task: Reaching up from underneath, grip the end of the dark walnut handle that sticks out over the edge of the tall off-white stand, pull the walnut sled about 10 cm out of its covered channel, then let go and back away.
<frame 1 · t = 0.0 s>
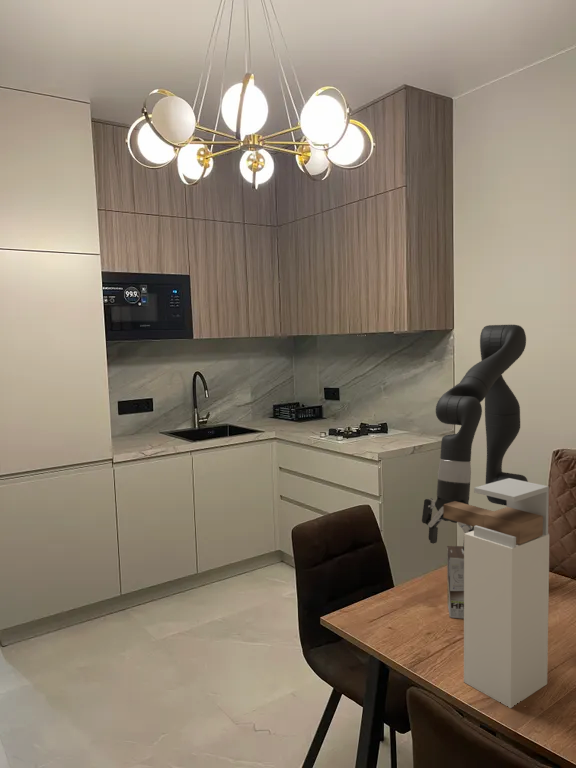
hand: (449, 546, 139), 22 cm above the table, tool pointing down, fingers open, 8 cm apart
stand: (482, 671, 127), on the table
sled: (487, 517, 123), point 34 cm above the table, slide at 0.0 cm
coffee box: (460, 611, 154), on the table
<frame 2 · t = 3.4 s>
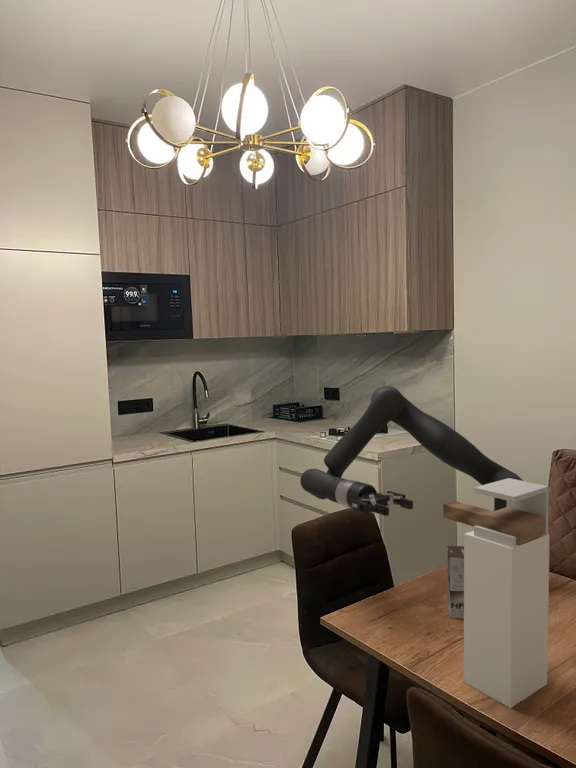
hand: (400, 508, 145), 30 cm above the table, tool horizontal, fingers open, 8 cm apart
nothing on the table moved.
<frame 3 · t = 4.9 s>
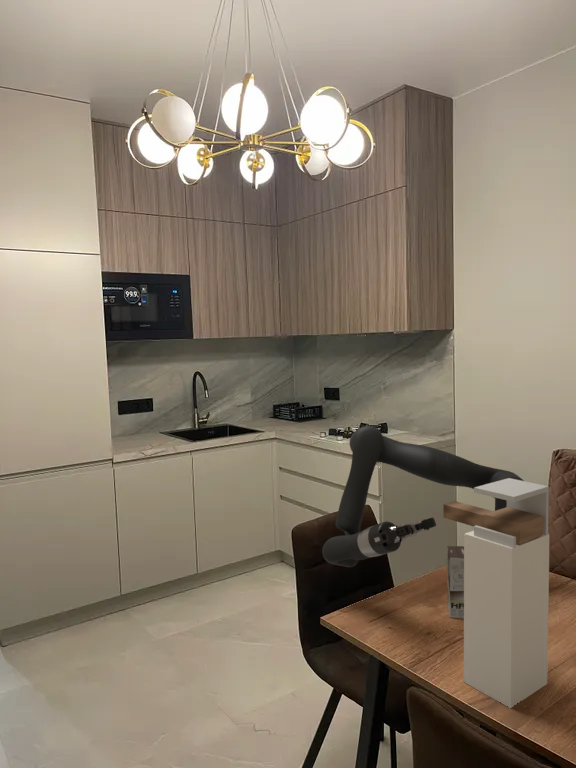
hand: (422, 525, 138), 28 cm above the table, tool pointing upward, fingers open, 8 cm apart
nothing on the table moved.
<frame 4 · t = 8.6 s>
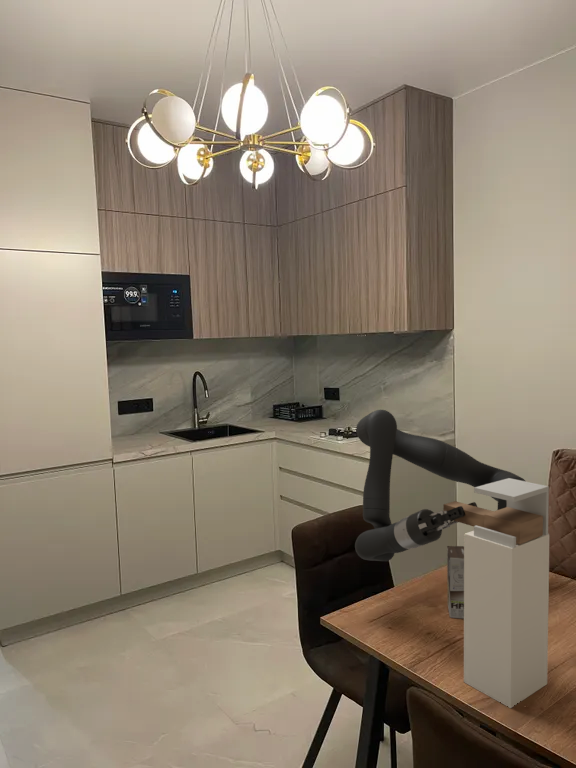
hand: (469, 508, 127), 35 cm above the table, tool pointing upward, fingers closed on sled, 4 cm apart
sled: (487, 517, 123), point 34 cm above the table, slide at 0.0 cm, touching gripper
everything else where it was.
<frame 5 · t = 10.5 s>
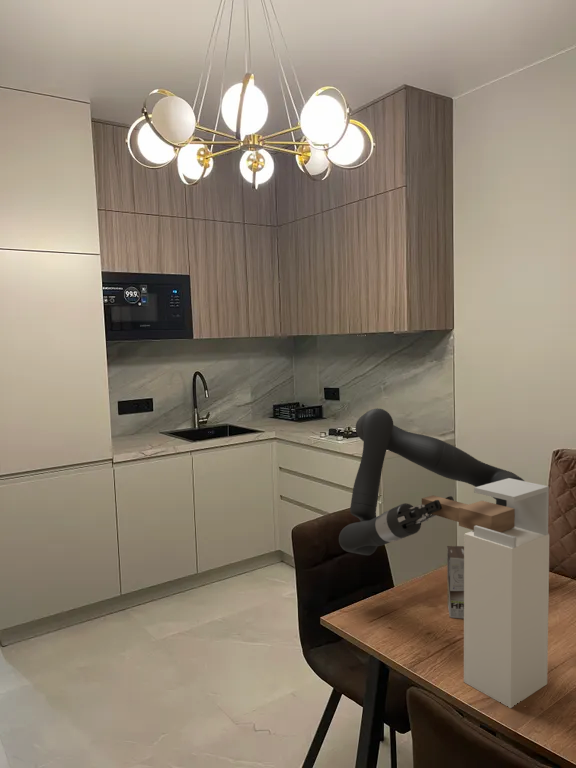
hand: (446, 502, 132), 35 cm above the table, tool pointing upward, fingers closed on sled, 4 cm apart
sled: (462, 510, 128), point 34 cm above the table, slide at 6.3 cm, touching gripper
everything else where it was.
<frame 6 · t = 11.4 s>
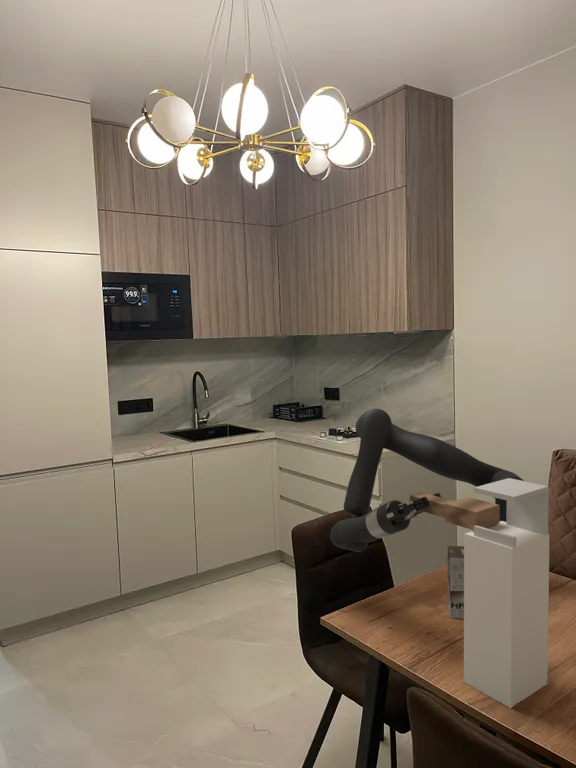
hand: (433, 499, 135), 35 cm above the table, tool pointing upward, fingers closed on sled, 4 cm apart
sled: (449, 507, 131), point 34 cm above the table, slide at 9.9 cm, touching gripper
everything else where it was.
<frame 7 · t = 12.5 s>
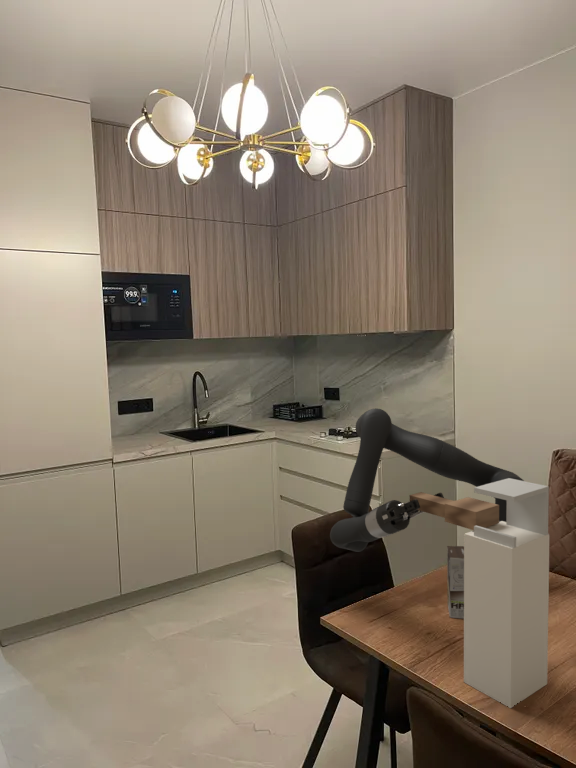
hand: (430, 500, 135), 35 cm above the table, tool pointing upward, fingers open, 8 cm apart
sled: (449, 507, 131), point 34 cm above the table, slide at 10.0 cm
everything else where it was.
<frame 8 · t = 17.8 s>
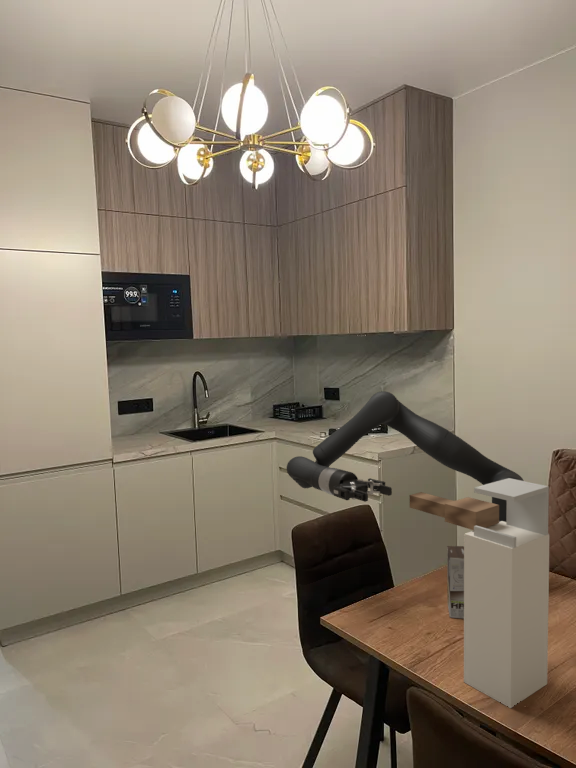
hand: (379, 494, 151), 32 cm above the table, tool horizontal, fingers open, 8 cm apart
nothing on the table moved.
at the end: sled slide at 10.0 cm; the gripper is holding nothing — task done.
